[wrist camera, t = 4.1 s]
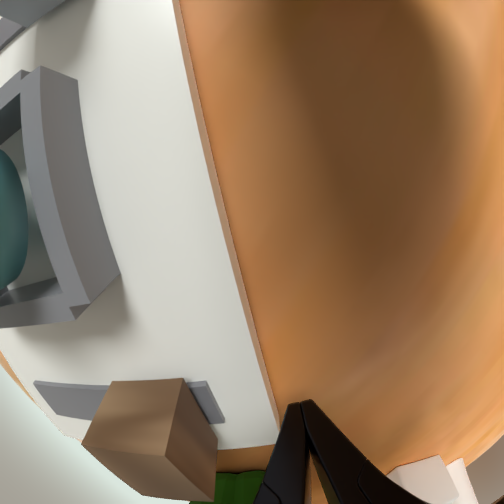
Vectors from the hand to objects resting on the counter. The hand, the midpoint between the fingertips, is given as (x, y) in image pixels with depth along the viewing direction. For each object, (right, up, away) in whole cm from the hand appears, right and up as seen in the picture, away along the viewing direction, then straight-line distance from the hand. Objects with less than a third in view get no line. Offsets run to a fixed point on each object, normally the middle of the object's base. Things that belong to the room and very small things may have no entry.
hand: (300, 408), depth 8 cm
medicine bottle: (+15, -19, +10) cm, 26 cm away
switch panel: (-10, +8, 0) cm, 13 cm away
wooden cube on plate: (-5, -1, +1) cm, 5 cm away
